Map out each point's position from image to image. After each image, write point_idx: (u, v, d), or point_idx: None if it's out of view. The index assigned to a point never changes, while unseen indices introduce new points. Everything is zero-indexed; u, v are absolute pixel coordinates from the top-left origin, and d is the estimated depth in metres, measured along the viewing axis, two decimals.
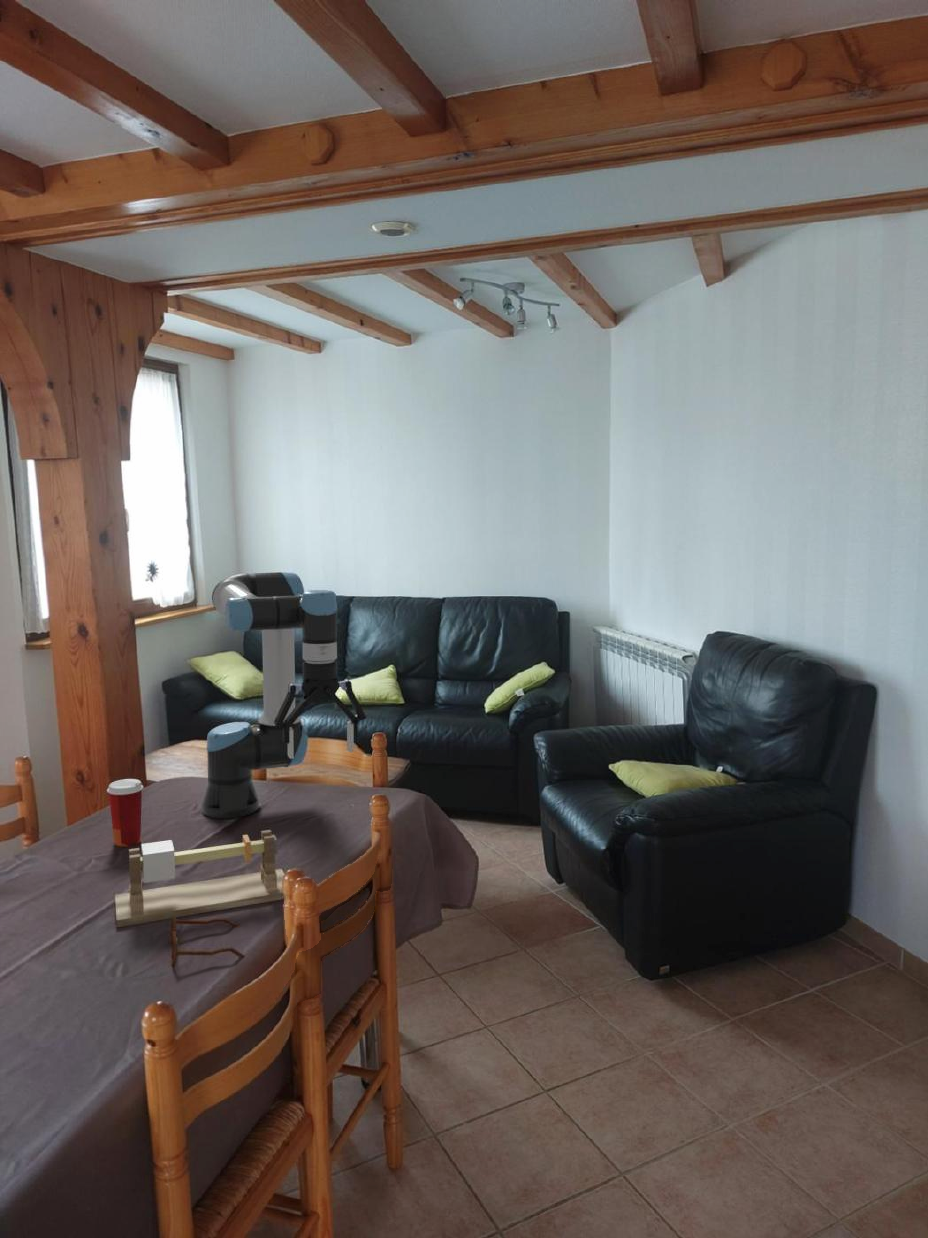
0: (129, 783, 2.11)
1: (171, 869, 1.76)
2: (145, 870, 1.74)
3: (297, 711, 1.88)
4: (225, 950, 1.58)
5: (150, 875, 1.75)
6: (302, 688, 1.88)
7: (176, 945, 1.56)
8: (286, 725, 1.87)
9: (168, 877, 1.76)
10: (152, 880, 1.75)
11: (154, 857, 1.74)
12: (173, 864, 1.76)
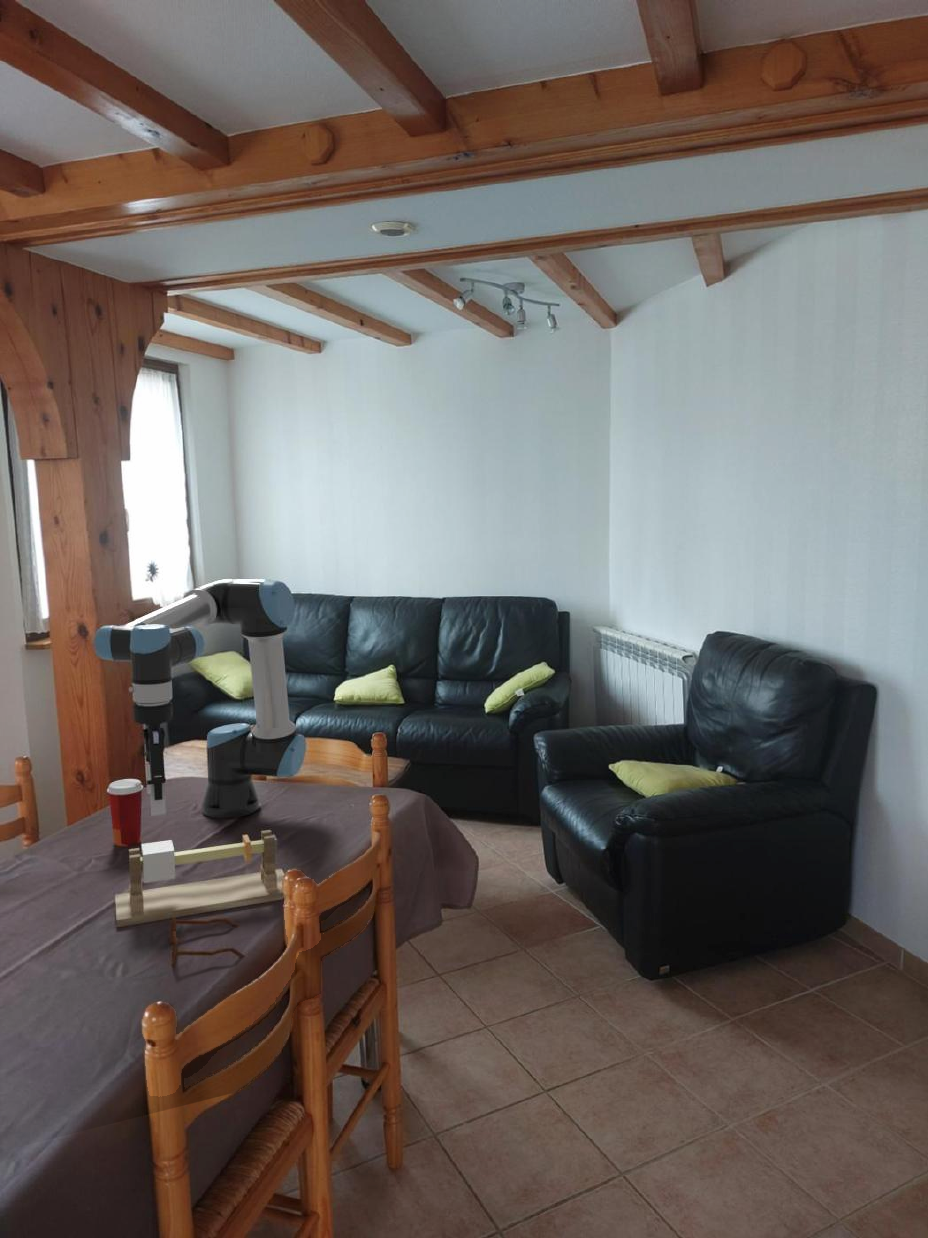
0: (129, 783, 2.11)
1: (171, 869, 1.76)
2: (145, 870, 1.74)
3: None
4: (225, 950, 1.58)
5: (150, 875, 1.75)
6: None
7: (176, 945, 1.56)
8: (146, 757, 1.82)
9: (168, 877, 1.76)
10: (152, 880, 1.75)
11: (154, 857, 1.74)
12: (173, 864, 1.76)
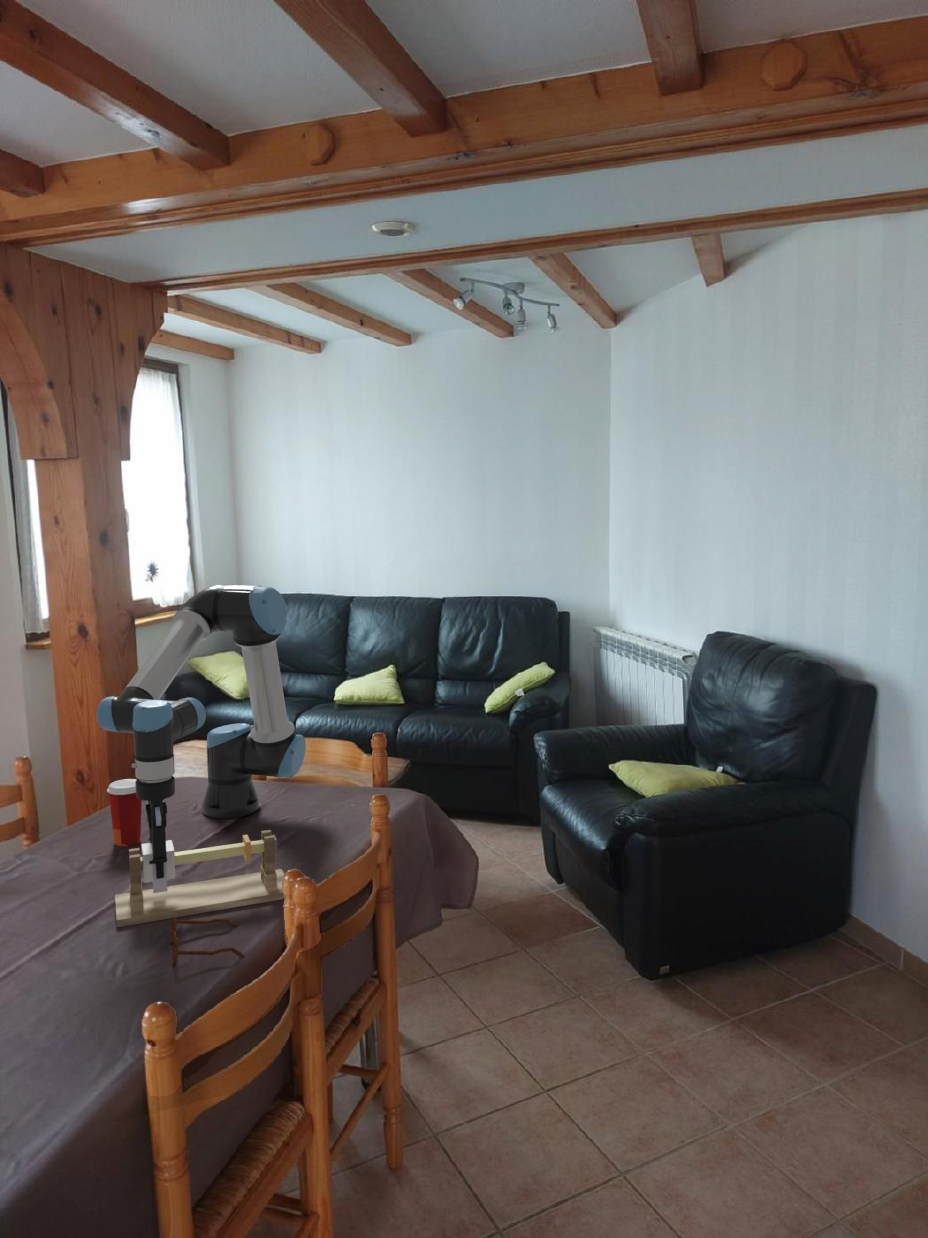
0: (129, 783, 2.11)
1: (171, 869, 1.76)
2: (145, 870, 1.74)
3: None
4: (226, 950, 1.59)
5: (150, 875, 1.75)
6: None
7: (177, 945, 1.56)
8: None
9: (168, 877, 1.76)
10: (152, 880, 1.75)
11: None
12: (173, 864, 1.76)
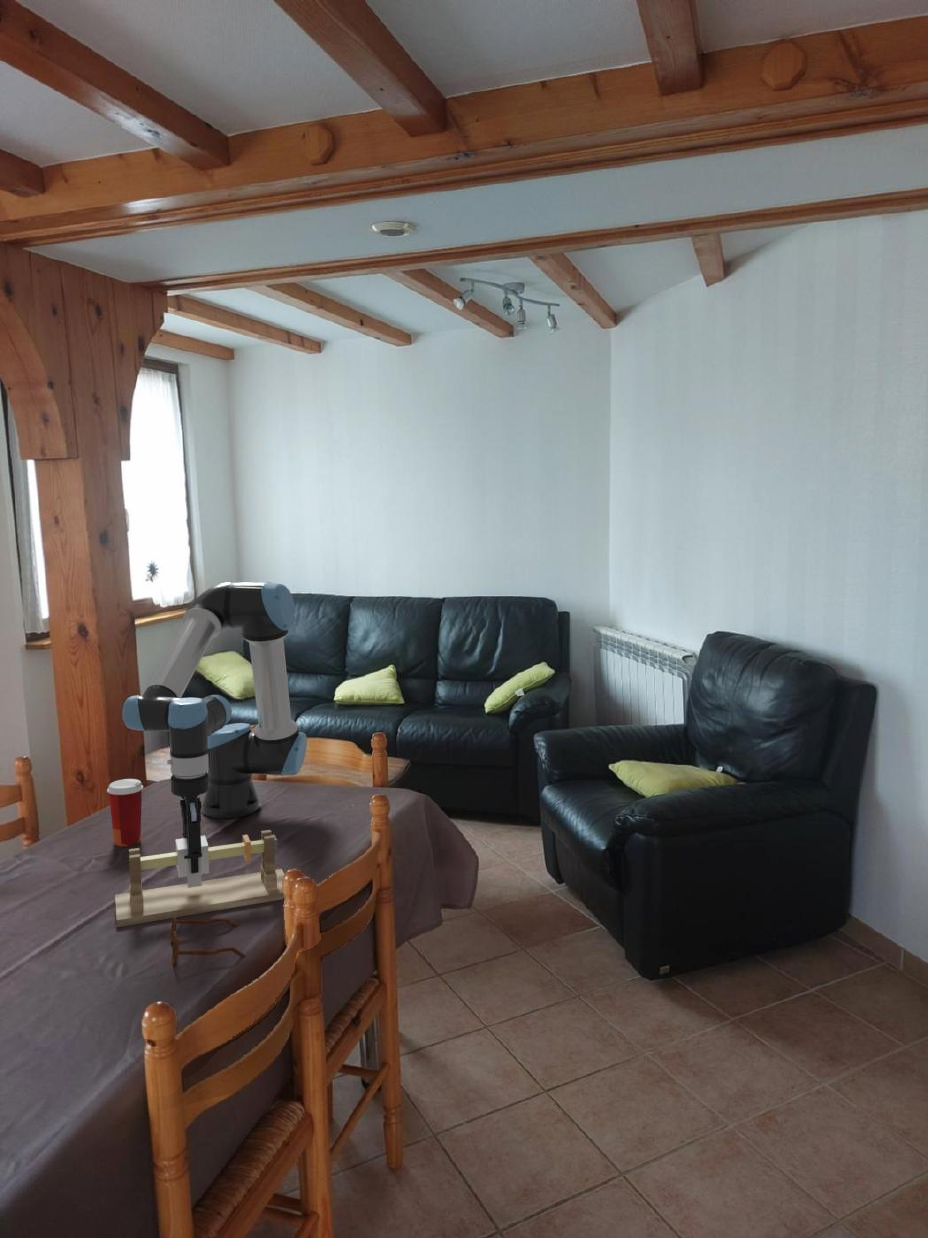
0: (129, 783, 2.11)
1: (205, 864, 1.79)
2: (180, 865, 1.77)
3: (184, 824, 1.82)
4: (226, 950, 1.59)
5: (185, 870, 1.77)
6: None
7: (177, 945, 1.56)
8: None
9: (202, 872, 1.79)
10: None
11: None
12: (207, 859, 1.79)
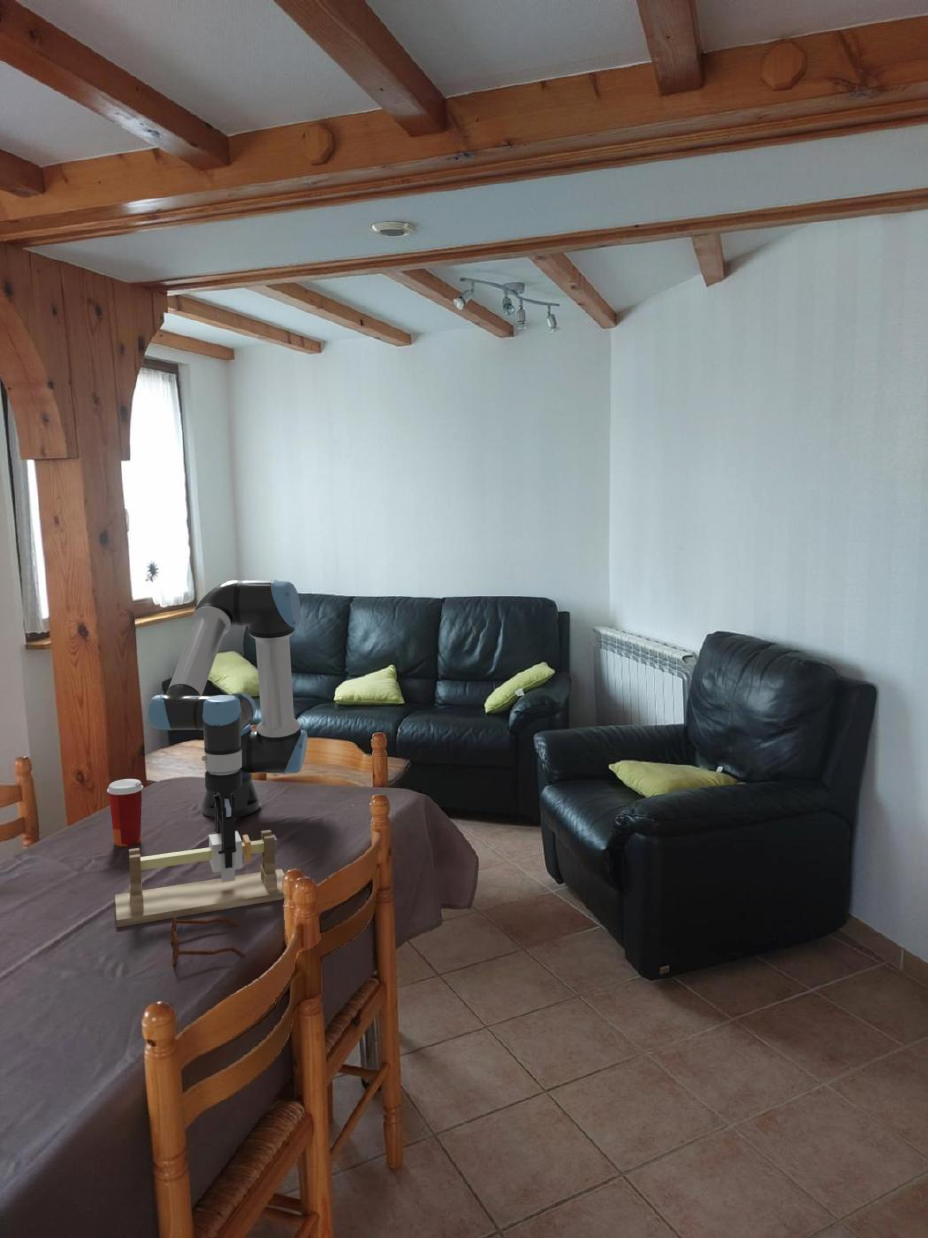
0: (129, 783, 2.11)
1: (238, 859, 1.81)
2: (214, 860, 1.79)
3: None
4: (226, 950, 1.59)
5: (219, 865, 1.80)
6: None
7: (177, 945, 1.56)
8: None
9: (236, 867, 1.81)
10: (220, 870, 1.80)
11: None
12: (240, 854, 1.81)
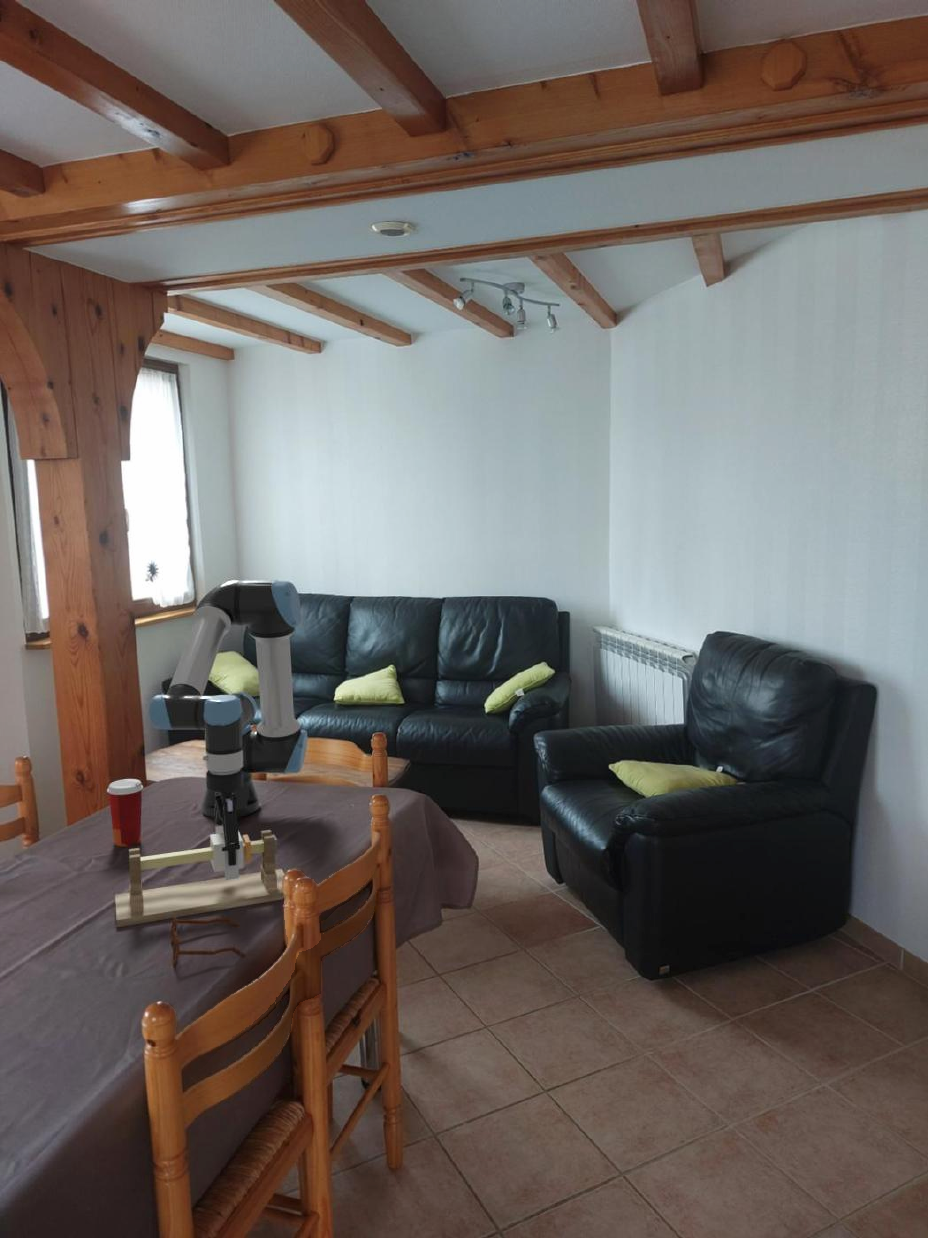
0: (129, 783, 2.11)
1: (240, 859, 1.81)
2: (215, 860, 1.79)
3: (216, 810, 1.87)
4: (227, 950, 1.59)
5: (220, 865, 1.80)
6: None
7: (178, 945, 1.56)
8: (215, 819, 1.89)
9: None
10: (222, 869, 1.80)
11: None
12: (242, 854, 1.81)
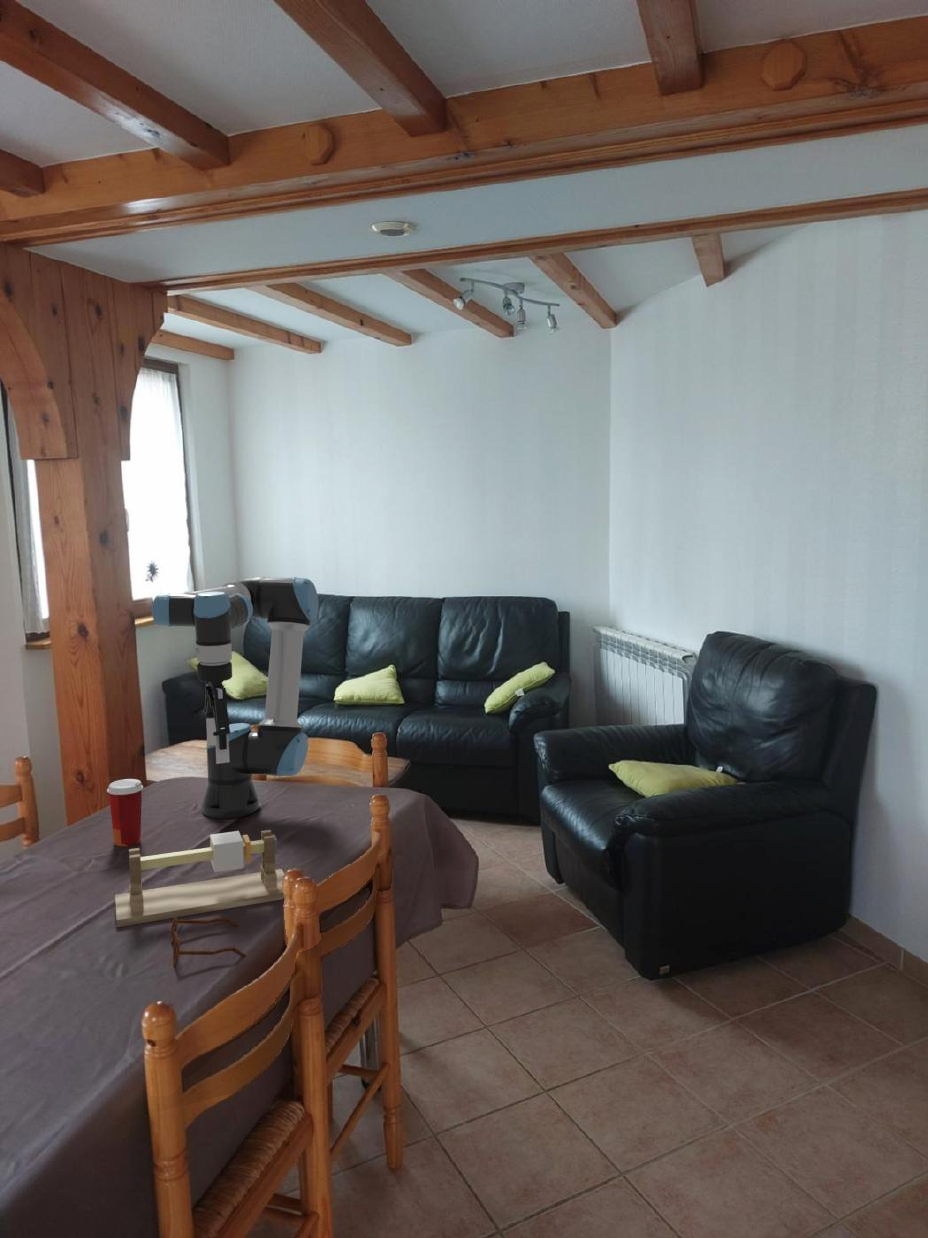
0: (129, 783, 2.11)
1: (240, 859, 1.81)
2: (215, 860, 1.79)
3: (207, 703, 1.97)
4: (227, 950, 1.59)
5: (220, 865, 1.80)
6: None
7: (178, 945, 1.56)
8: (206, 712, 2.00)
9: (237, 867, 1.81)
10: (222, 869, 1.80)
11: (224, 847, 1.80)
12: (242, 854, 1.81)
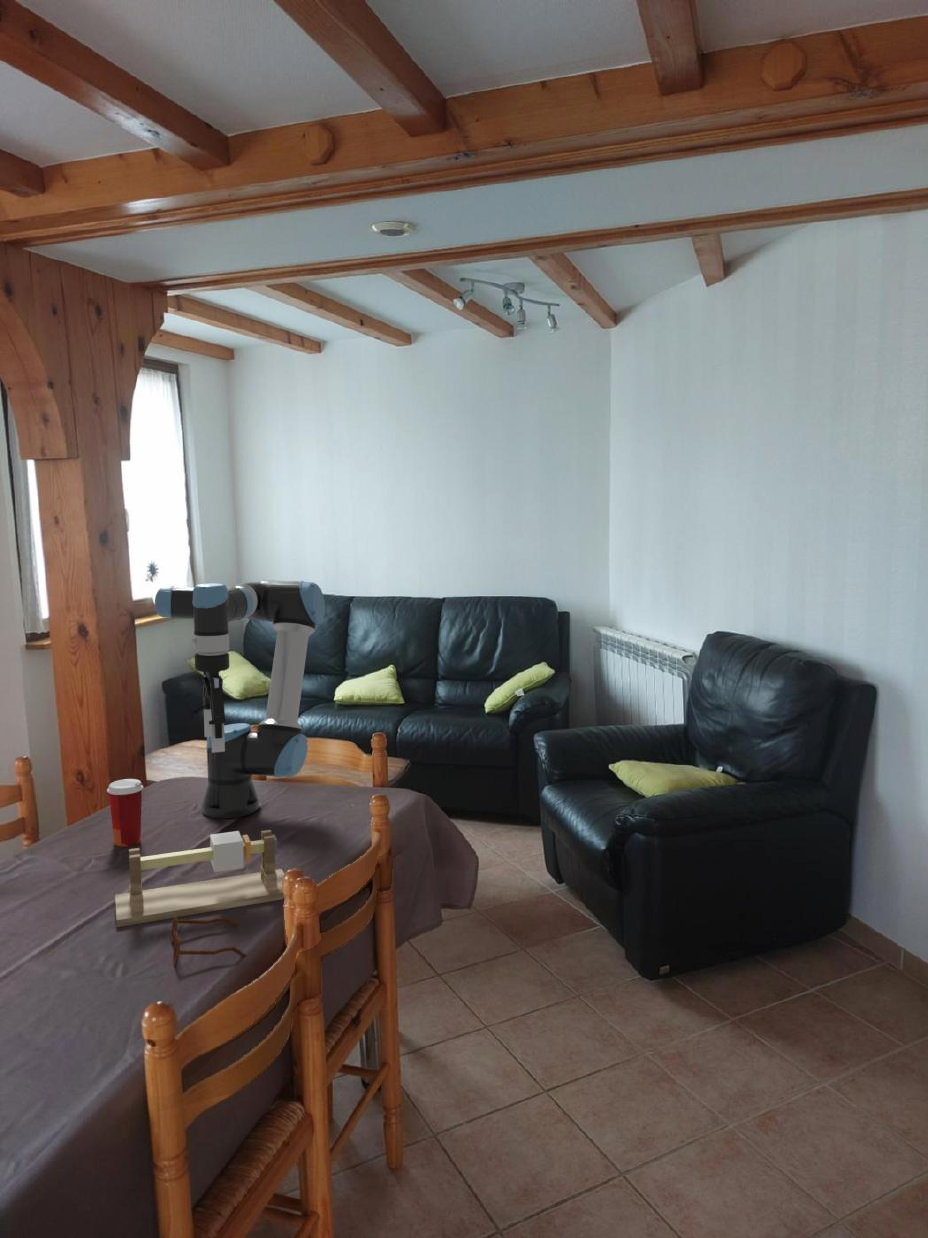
0: (129, 783, 2.11)
1: (240, 859, 1.81)
2: (215, 860, 1.79)
3: None
4: (227, 949, 1.59)
5: (220, 865, 1.80)
6: None
7: (178, 944, 1.56)
8: None
9: (237, 867, 1.81)
10: (222, 869, 1.80)
11: (224, 847, 1.80)
12: (242, 854, 1.81)
